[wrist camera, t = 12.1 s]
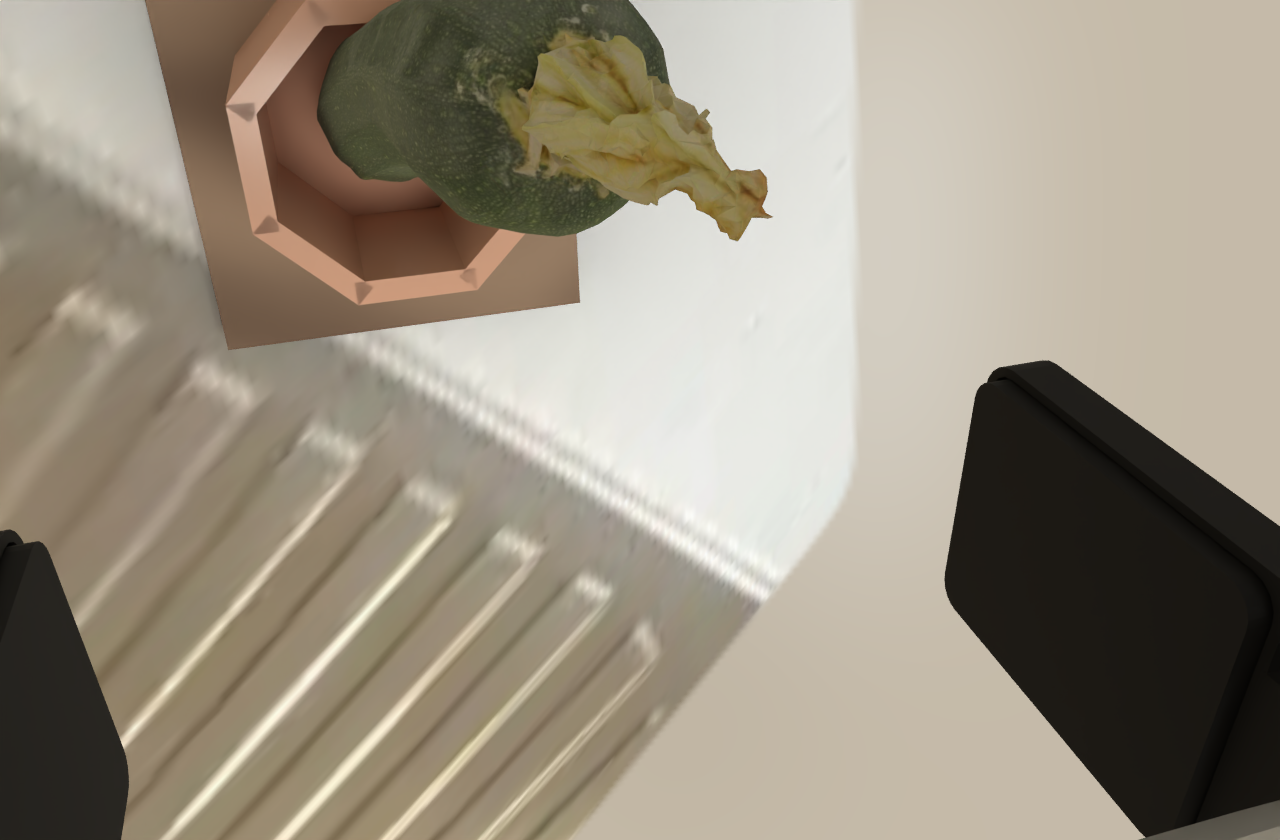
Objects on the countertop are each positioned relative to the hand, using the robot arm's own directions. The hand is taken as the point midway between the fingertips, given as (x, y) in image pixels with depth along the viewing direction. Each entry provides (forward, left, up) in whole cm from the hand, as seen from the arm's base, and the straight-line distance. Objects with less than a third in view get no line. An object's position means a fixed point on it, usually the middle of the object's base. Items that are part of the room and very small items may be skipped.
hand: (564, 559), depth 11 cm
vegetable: (0, 0, -22) cm, 22 cm away
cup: (0, 0, -23) cm, 23 cm away
